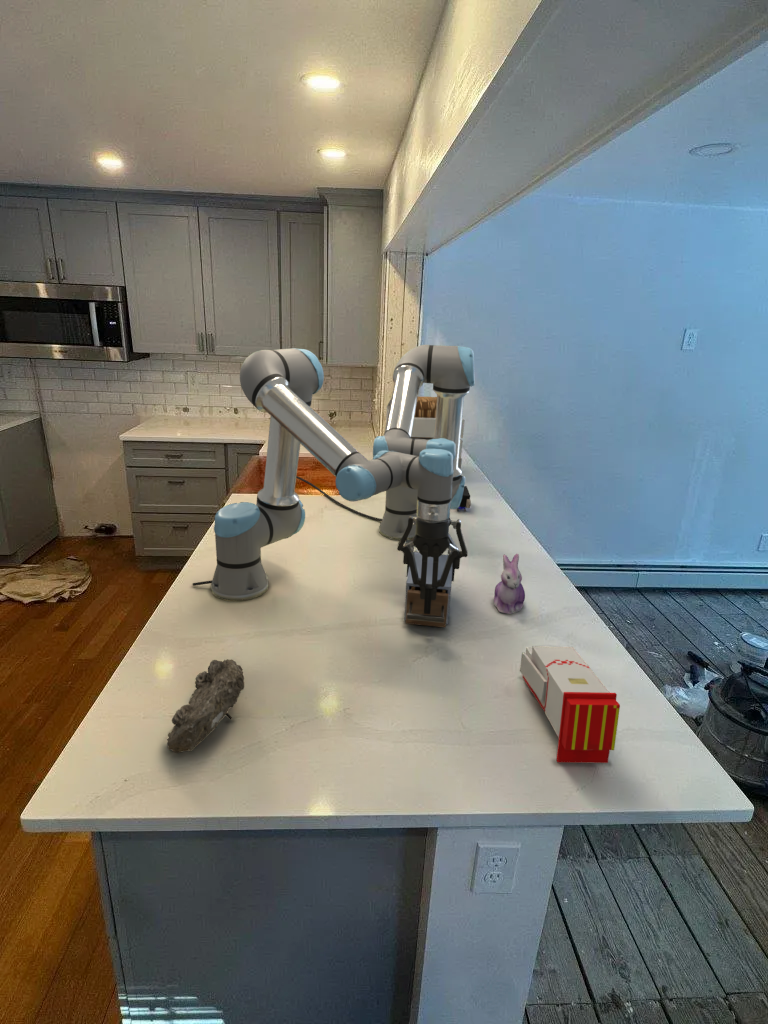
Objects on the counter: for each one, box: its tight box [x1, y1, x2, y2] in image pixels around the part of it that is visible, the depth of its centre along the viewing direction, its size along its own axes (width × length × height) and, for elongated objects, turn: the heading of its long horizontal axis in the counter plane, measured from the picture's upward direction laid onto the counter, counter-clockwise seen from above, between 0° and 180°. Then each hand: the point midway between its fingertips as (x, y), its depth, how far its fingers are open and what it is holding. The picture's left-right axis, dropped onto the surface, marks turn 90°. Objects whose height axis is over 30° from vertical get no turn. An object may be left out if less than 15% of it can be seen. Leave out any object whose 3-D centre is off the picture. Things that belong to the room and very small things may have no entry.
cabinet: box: [403, 551, 453, 625], centre depth 149 cm, size 16×11×11 cm
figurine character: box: [456, 485, 472, 513], centre depth 228 cm, size 7×8×15 cm
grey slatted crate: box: [385, 396, 465, 471], centre depth 268 cm, size 34×33×41 cm
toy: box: [519, 645, 621, 764], centre depth 112 cm, size 12×13×30 cm
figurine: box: [493, 553, 526, 615], centre depth 151 cm, size 9×10×15 cm
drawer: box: [405, 586, 449, 628], centre depth 144 cm, size 21×10×9 cm, turn 173°
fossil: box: [166, 658, 245, 754], centre depth 106 cm, size 22×10×15 cm
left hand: (427, 610), depth 136 cm, fingers closed
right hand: (430, 577), depth 153 cm, fingers closed on cabinet, 11 cm apart
